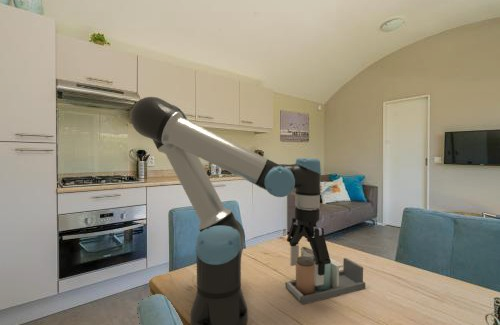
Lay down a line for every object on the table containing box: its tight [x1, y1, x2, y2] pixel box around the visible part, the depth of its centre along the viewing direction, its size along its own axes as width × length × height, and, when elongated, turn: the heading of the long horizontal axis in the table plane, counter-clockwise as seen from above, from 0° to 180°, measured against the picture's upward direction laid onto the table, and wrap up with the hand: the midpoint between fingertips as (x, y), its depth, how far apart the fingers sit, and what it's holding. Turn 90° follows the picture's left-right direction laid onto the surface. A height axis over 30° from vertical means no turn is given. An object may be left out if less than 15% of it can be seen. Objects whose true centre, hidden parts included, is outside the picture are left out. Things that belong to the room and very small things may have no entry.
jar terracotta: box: [295, 255, 315, 296], centre depth 80 cm, size 6×6×10 cm
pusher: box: [330, 257, 343, 288], centre depth 83 cm, size 2×7×8 cm, turn 21°
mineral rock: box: [300, 246, 314, 258], centre depth 101 cm, size 15×8×4 cm, turn 168°
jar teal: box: [312, 255, 331, 292], centre depth 82 cm, size 6×6×10 cm
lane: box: [284, 257, 366, 305], centre depth 82 cm, size 24×10×7 cm, turn 111°
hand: (305, 274), depth 80 cm, fingers open, 13 cm apart
